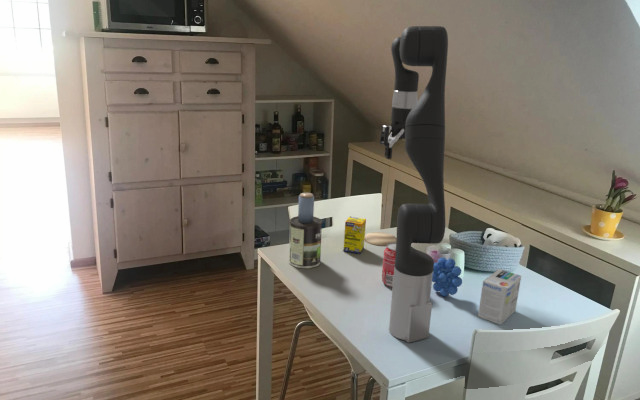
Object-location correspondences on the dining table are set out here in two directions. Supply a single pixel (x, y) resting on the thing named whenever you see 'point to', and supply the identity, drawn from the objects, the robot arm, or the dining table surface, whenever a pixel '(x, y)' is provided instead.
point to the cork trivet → (380, 238)
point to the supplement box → (354, 235)
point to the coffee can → (305, 243)
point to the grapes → (446, 277)
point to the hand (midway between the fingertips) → (399, 158)
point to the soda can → (389, 264)
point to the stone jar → (306, 208)
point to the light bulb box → (499, 296)
